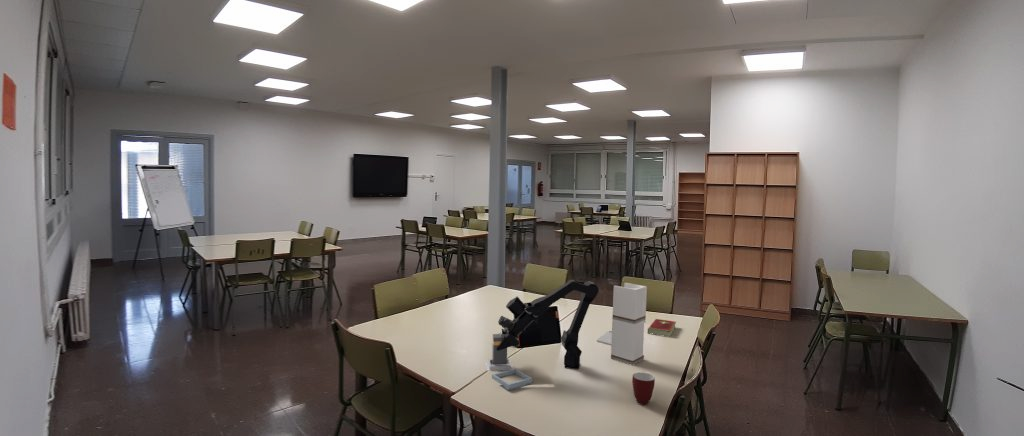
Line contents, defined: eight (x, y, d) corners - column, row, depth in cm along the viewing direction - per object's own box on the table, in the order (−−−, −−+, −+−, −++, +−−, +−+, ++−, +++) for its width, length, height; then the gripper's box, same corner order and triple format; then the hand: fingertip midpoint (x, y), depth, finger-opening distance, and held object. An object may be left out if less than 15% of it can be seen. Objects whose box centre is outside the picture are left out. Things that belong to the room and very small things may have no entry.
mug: (635, 393, 187) (636, 368, 186) (656, 398, 183) (657, 372, 182) (629, 404, 177) (630, 378, 177) (651, 409, 174) (652, 382, 173)
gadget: (621, 349, 239) (621, 342, 239) (595, 342, 249) (596, 335, 249) (642, 339, 256) (643, 333, 255) (618, 333, 266) (618, 326, 266)
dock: (511, 363, 215) (511, 358, 215) (514, 372, 205) (514, 366, 205) (484, 364, 213) (485, 358, 213) (486, 372, 203) (486, 367, 203)
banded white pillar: (643, 359, 224) (646, 286, 222) (632, 365, 216) (635, 289, 214) (622, 353, 232) (625, 282, 230) (610, 358, 224) (613, 285, 222)
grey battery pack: (505, 360, 212) (506, 330, 211) (507, 364, 207) (507, 334, 206) (492, 360, 211) (492, 331, 210) (493, 364, 206) (493, 334, 205)
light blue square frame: (515, 374, 203) (515, 368, 203) (532, 384, 193) (532, 378, 193) (491, 380, 196) (491, 374, 196) (508, 390, 186) (508, 384, 186)
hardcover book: (647, 334, 265) (647, 327, 264) (654, 325, 283) (655, 318, 283) (669, 338, 259) (670, 330, 259) (675, 328, 278) (676, 321, 277)
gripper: (506, 305, 217) (482, 329, 217) (511, 316, 199) (485, 342, 198) (523, 321, 219) (499, 345, 218) (530, 334, 200) (503, 360, 200)
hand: (496, 347), depth 208 cm, fingers closed on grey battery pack, 5 cm apart
